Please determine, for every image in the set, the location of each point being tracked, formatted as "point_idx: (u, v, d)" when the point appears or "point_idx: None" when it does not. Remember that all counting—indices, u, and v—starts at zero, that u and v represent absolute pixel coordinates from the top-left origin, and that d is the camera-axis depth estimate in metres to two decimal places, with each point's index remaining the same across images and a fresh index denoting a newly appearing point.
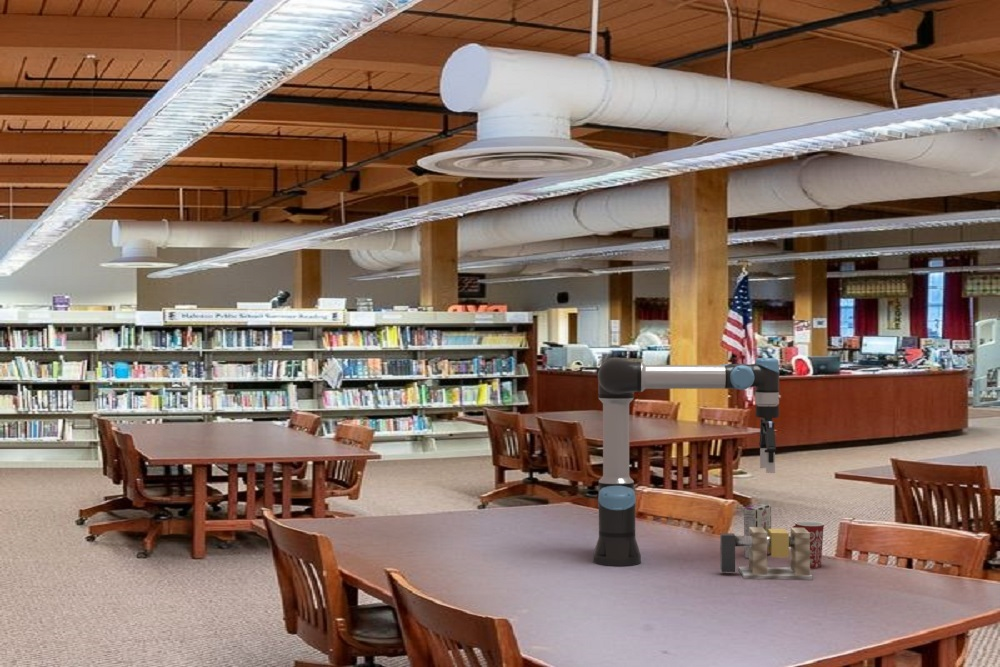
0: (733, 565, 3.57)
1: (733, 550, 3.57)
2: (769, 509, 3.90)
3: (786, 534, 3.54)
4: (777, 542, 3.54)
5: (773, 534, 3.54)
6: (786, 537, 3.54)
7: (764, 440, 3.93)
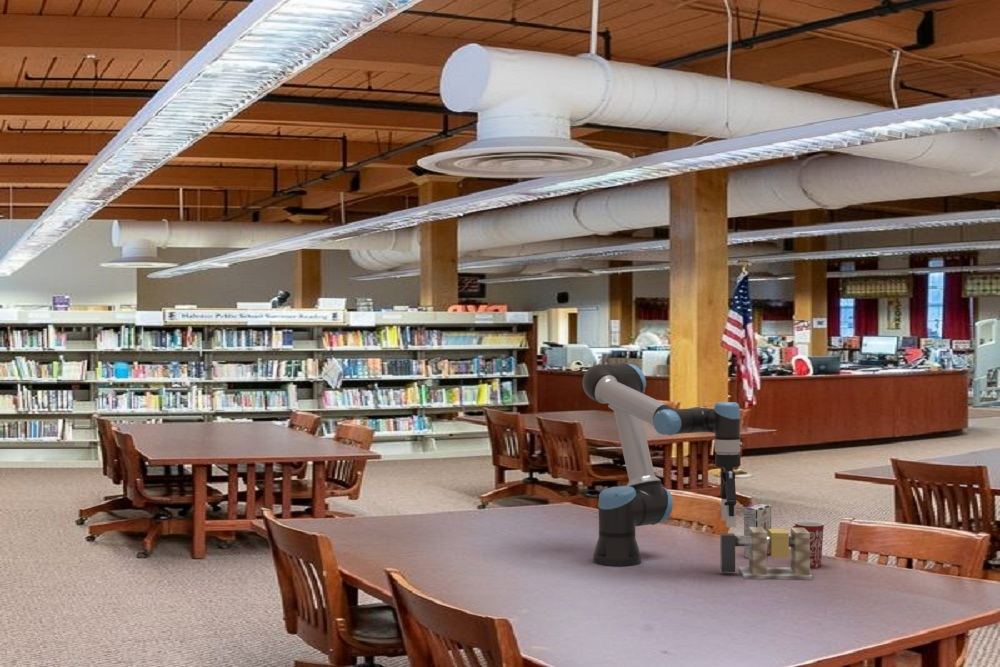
0: (733, 565, 3.57)
1: (733, 550, 3.57)
2: (769, 509, 3.90)
3: (786, 534, 3.54)
4: (777, 542, 3.54)
5: (773, 534, 3.54)
6: (786, 537, 3.54)
7: (725, 490, 3.64)
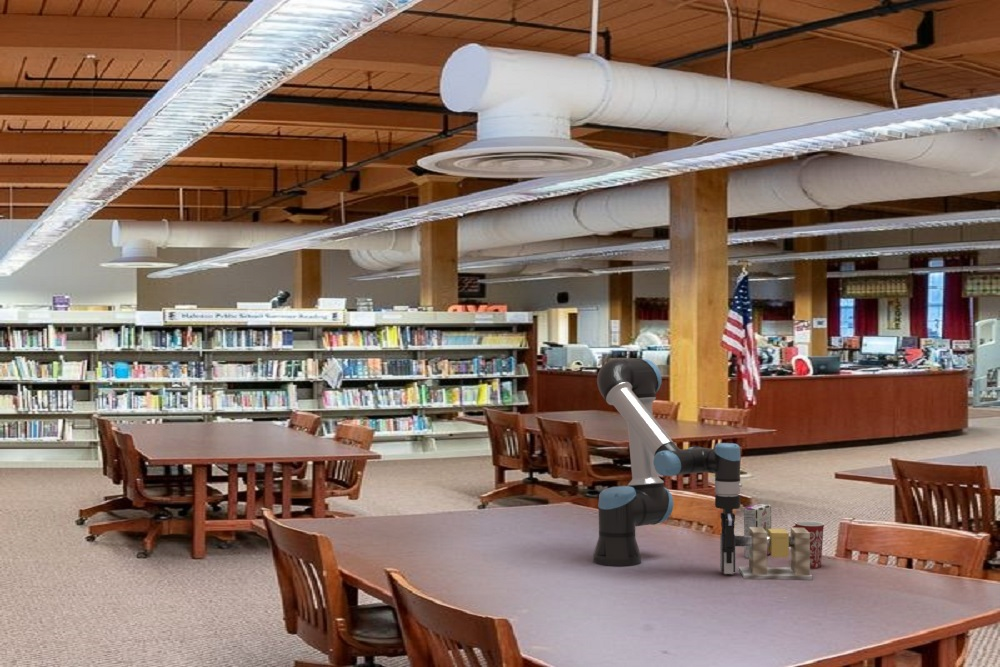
0: (733, 565, 3.57)
1: None
2: (769, 509, 3.90)
3: (786, 534, 3.54)
4: (777, 542, 3.54)
5: (773, 534, 3.54)
6: (786, 537, 3.54)
7: None
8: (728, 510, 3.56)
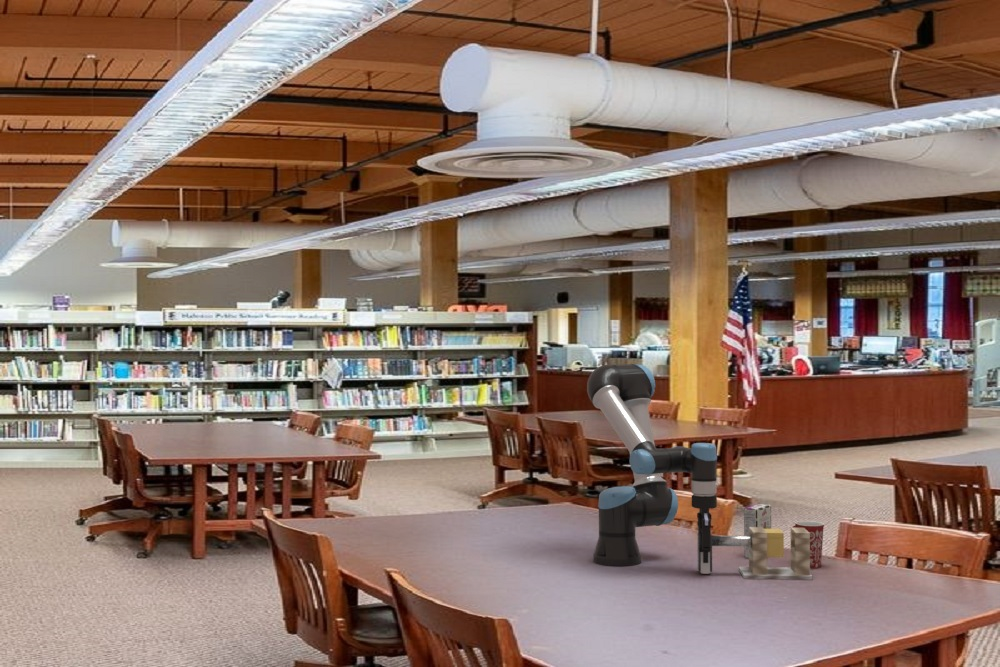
0: (710, 565, 3.58)
1: None
2: (769, 509, 3.90)
3: (781, 534, 3.54)
4: (772, 542, 3.54)
5: (768, 534, 3.55)
6: (781, 537, 3.54)
7: None
8: (704, 510, 3.56)
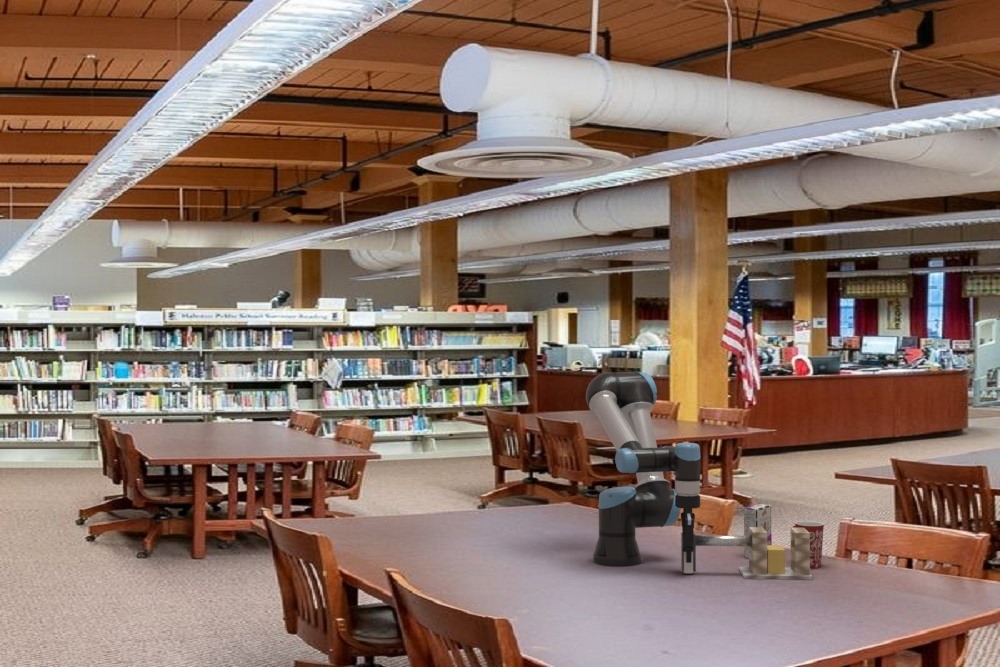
0: (693, 564, 3.58)
1: None
2: (769, 509, 3.90)
3: (782, 551, 3.54)
4: (773, 559, 3.54)
5: (769, 551, 3.54)
6: (782, 554, 3.54)
7: None
8: (688, 510, 3.57)
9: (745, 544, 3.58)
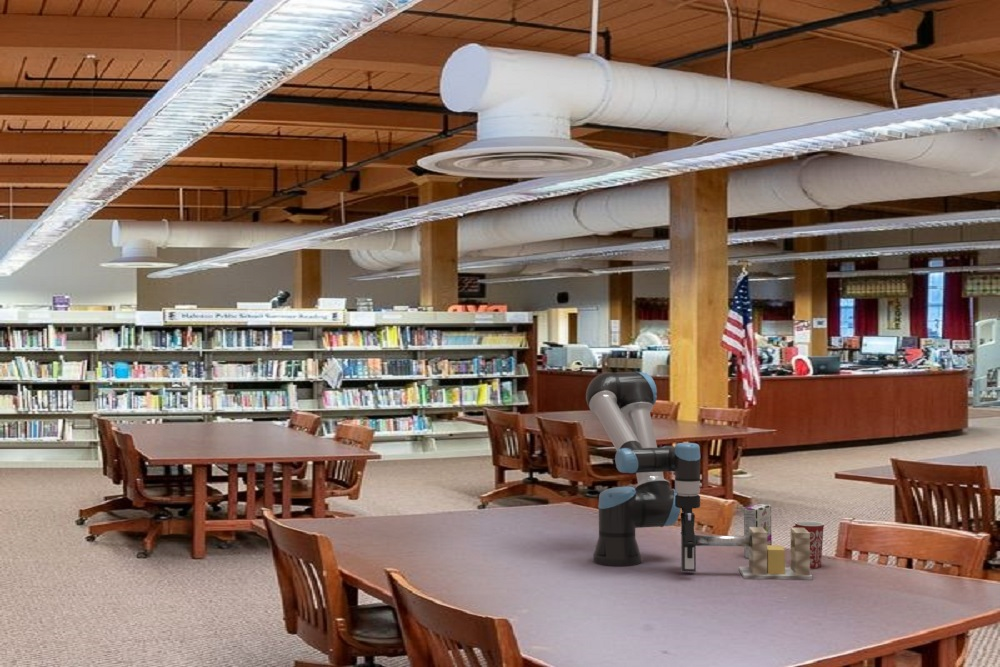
0: None
1: None
2: (769, 509, 3.90)
3: (782, 551, 3.54)
4: (773, 559, 3.54)
5: (769, 551, 3.54)
6: (782, 554, 3.54)
7: (685, 530, 3.65)
8: None
9: (745, 544, 3.58)
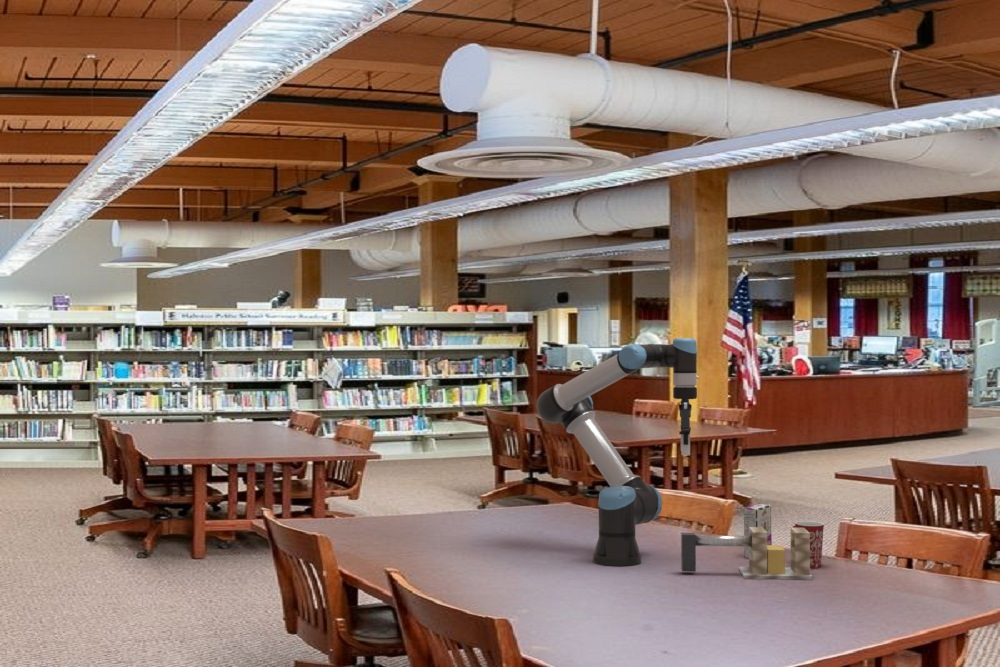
0: (693, 564, 3.58)
1: (693, 549, 3.58)
2: (769, 509, 3.90)
3: (782, 551, 3.54)
4: (773, 559, 3.54)
5: (769, 551, 3.54)
6: (782, 554, 3.54)
7: None
8: None
9: (745, 544, 3.58)
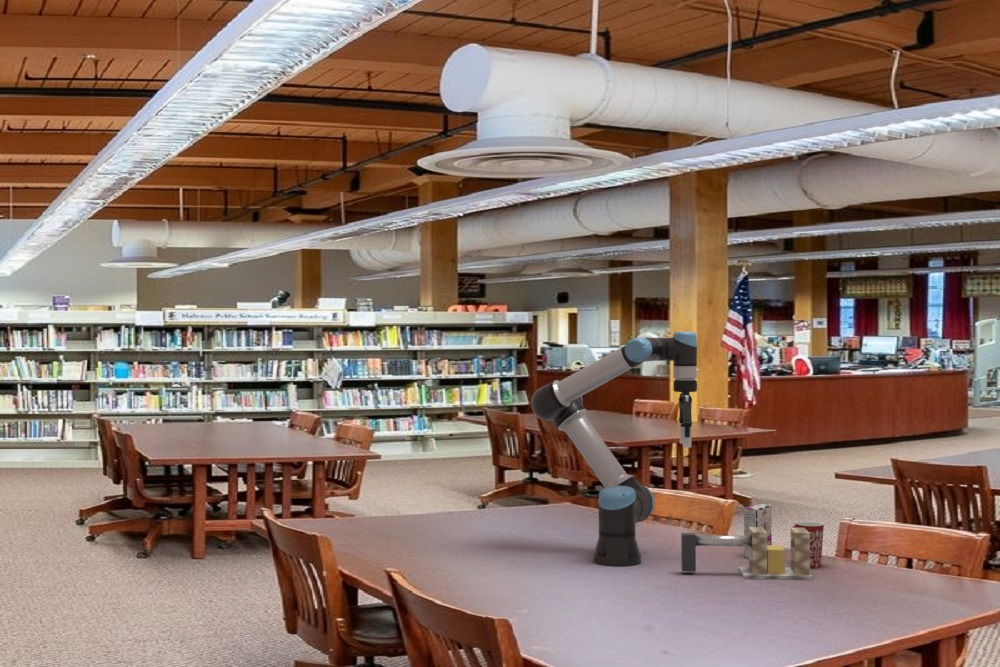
0: (693, 564, 3.58)
1: (693, 549, 3.58)
2: (769, 509, 3.90)
3: (782, 551, 3.54)
4: (773, 559, 3.54)
5: (769, 551, 3.54)
6: (782, 554, 3.54)
7: (683, 415, 3.87)
8: None
9: (745, 544, 3.58)
